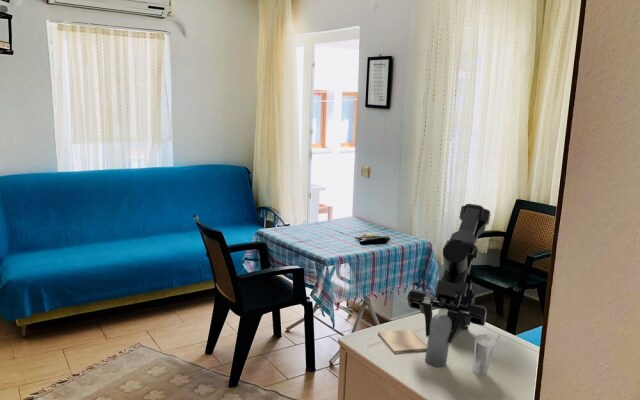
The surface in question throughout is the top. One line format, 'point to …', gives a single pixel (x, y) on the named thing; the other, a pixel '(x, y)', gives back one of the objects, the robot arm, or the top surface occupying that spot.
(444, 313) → the grey bottle
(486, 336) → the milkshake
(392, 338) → the cork mat
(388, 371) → the top surface
